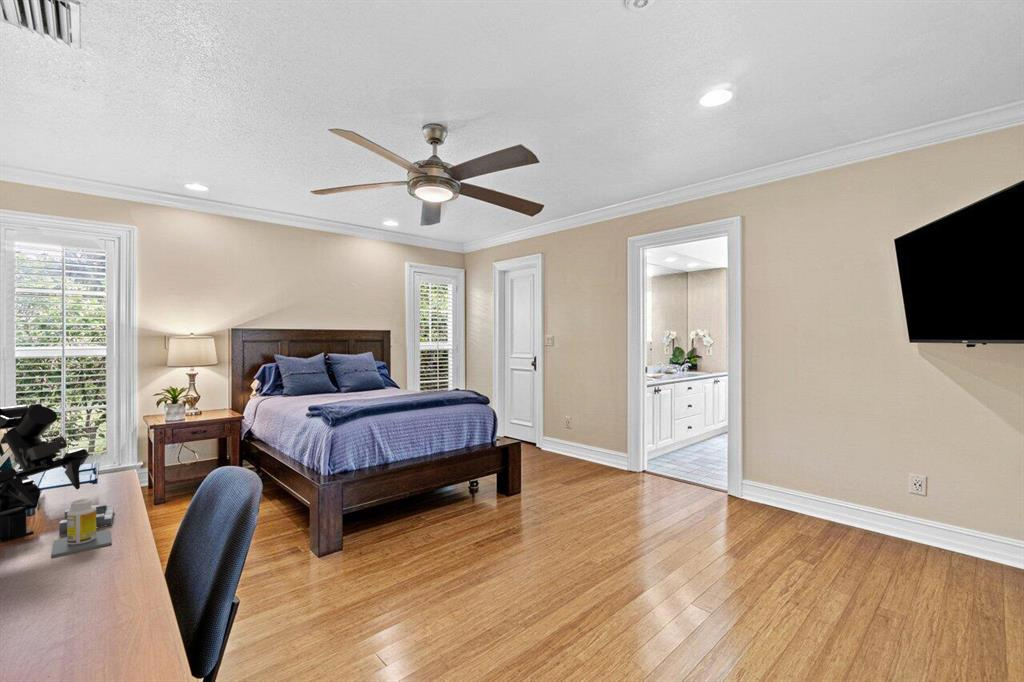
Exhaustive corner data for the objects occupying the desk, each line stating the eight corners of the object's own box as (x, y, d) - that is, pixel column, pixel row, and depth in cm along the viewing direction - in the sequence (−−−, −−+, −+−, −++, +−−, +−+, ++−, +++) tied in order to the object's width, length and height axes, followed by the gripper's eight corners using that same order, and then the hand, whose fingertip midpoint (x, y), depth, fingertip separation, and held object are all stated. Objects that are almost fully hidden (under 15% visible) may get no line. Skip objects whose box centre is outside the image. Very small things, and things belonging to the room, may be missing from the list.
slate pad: (53, 542, 122) (53, 540, 122) (109, 531, 129) (110, 529, 129) (51, 557, 114) (51, 555, 114) (111, 544, 121) (111, 542, 121)
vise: (110, 530, 130) (110, 519, 130) (56, 540, 124) (56, 528, 124) (113, 512, 144) (113, 502, 144) (65, 520, 137) (65, 509, 137)
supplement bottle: (100, 535, 125) (100, 496, 125) (90, 544, 120) (90, 503, 120) (73, 538, 123) (73, 498, 123) (62, 547, 118) (62, 505, 118)
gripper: (-14, 442, 113) (17, 497, 111) (81, 419, 130) (110, 466, 128) (-27, 466, 117) (4, 519, 115) (67, 441, 134) (95, 486, 132)
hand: (56, 496), depth 122 cm, fingers open, 9 cm apart
